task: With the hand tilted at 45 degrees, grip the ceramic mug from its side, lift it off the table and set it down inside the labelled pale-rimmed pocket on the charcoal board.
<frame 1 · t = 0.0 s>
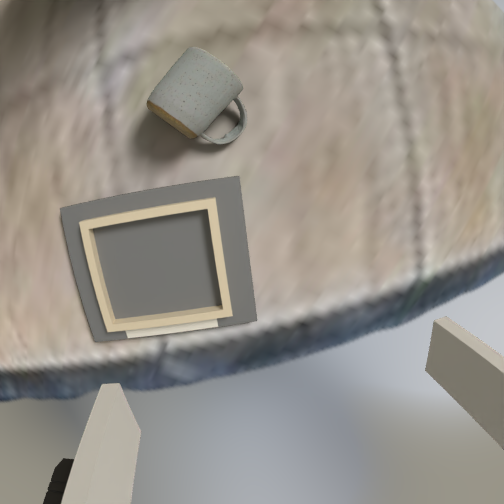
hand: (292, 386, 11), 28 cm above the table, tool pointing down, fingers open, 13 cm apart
charcoal pocket board: (158, 263, 38), on the table
ceramic mug: (204, 106, 34), on the table
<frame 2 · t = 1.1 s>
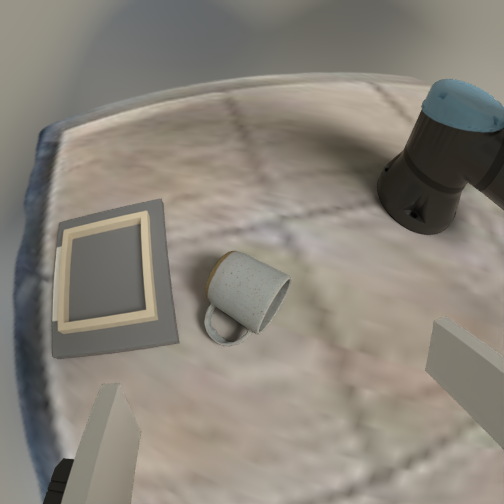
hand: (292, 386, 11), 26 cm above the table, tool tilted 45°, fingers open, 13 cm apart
charcoal pocket board: (109, 277, 42), on the table
ceramic mug: (243, 311, 40), on the table
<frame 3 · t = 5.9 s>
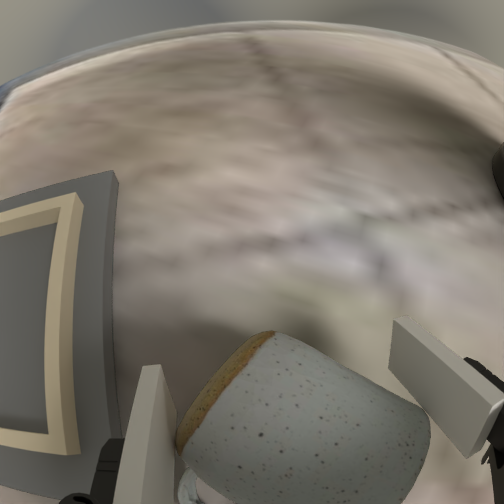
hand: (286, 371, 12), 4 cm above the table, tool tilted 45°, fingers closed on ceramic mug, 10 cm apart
charcoal pocket board: (5, 329, 16), on the table
ceramic mug: (276, 459, 14), on the table, touching gripper
when the fingers open (7 cm above the table, at t = 12.6 s): ceramic mug drops 1 cm, resting on charcoal pocket board.
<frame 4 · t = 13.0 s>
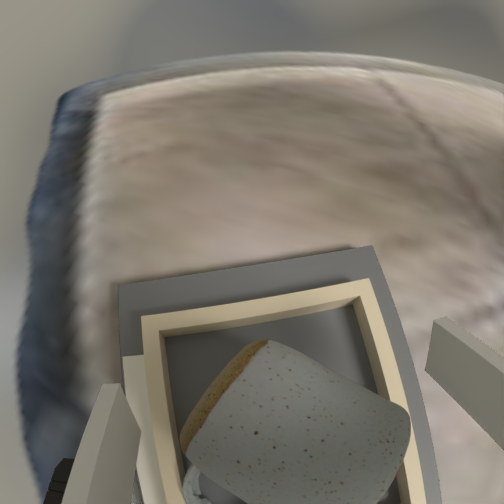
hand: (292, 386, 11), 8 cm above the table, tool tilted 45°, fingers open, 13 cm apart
charcoal pocket board: (282, 433, 17), on the table
ceramic mug: (272, 456, 15), point 1 cm above the table, touching charcoal pocket board
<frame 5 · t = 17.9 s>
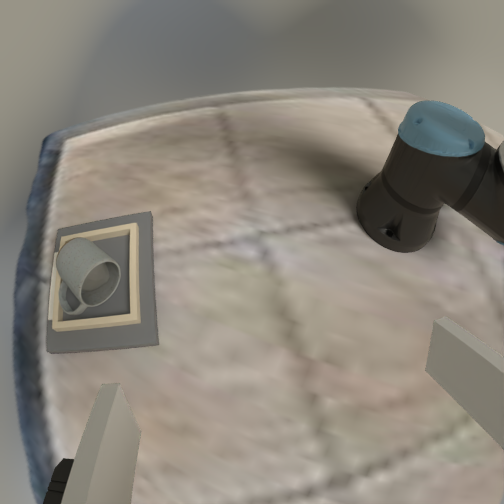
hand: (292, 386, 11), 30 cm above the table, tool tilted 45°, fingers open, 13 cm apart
charcoal pocket board: (100, 282, 45), on the table
ceramic mug: (91, 288, 43), point 1 cm above the table, touching charcoal pocket board
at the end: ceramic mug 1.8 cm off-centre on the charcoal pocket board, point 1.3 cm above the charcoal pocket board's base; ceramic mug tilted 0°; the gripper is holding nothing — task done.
